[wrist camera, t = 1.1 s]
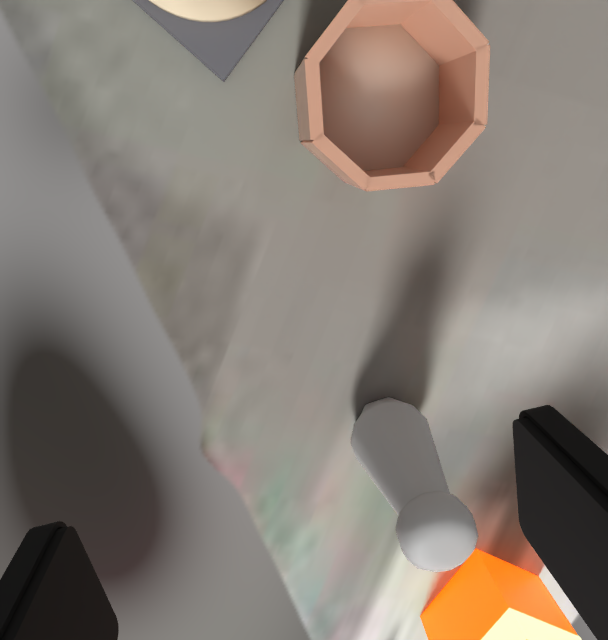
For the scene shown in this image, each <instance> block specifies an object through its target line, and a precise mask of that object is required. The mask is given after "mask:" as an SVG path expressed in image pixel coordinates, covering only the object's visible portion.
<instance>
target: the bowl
mask: <svg viewBox="0 0 608 640" xmlns="http://www.w3.org/2000/svg"><path fill="white" fill-rule="evenodd" d="M488 43H489V41H488V40H487V39H486V38H485V37H484V35H483V34H482V33H481V32H480V31H479V30H478V29H477V27H476V26H475V25H474V24H473V23H472V22H471V21H470V19H469V18H468V17H467V16H466V15H465V14H464V13H463V11H462V10H461V9H460V8H459V7H458V6H457V5H456V3H455V2H454V1H453V0H348V1H347V2H346V3H345V5H344V6H343V7H342V9H341V10H340V11H339V13H338V14H337V15H336V17H335V18H334V19H333V21H332V22H331V23H330V24H329V26H328V27H327V28H326V30H325V31H324V32H323V34H322V35H321V36H320V38H319V39H318V40H317V42H316V43H315V44H314V45H313V47H312V48H311V49H310V51H309V52H308V53H307V55H306V56H305V57H304V59H303V61H302V62H301V64H300V65H299V67H298V68H297V70H296V71H295V74H294V80H295V92H296V104H297V117H298V129H299V141H301V144H302V145H304V146H305V147H306V148H307V149H308V150H309V151H310V152H311V153H312V154H314V155H315V156H316V157H317V158H318V159H319V160H320V161H321V162H322V163H324V164H325V165H326V166H327V167H328V168H329V169H330V170H331V171H332V172H334V173H335V174H336V175H337V176H338V177H339V178H340V179H341V180H342V181H344V182H345V183H348V184H350V185H352V186H355V187H357V188H360V189H362V190H365V191H375V190H385V189H396V188H406V187H416V186H426V185H434V183H438V182H439V180H440V179H441V178H442V177H443V176H444V175H445V174H446V172H447V171H448V170H449V169H450V168H451V167H452V166H453V164H454V163H455V162H456V161H457V160H458V159H459V158H460V156H461V155H462V154H463V153H464V152H465V151H466V149H467V148H468V147H469V146H470V145H471V144H472V143H473V141H474V140H475V139H476V138H477V137H478V136H479V135H480V133H481V132H482V131H483V130H484V129H485V128H486V127H485V126H484V125H487V112H488V87H489V61H490V45H487V44H488Z"/></svg>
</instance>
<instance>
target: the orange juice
mask: <svg viewBox="0 0 608 640" xmlns="http://www.w3.org/2000/svg"><path fill="white" fill-rule="evenodd" d="M420 617H421V620H422V623H423V626H424V628H425V631H426V634H427V637H428V640H581V638H580V637H579V636H578V635H577V633H576V632H575V630H574V629H573V627H572V626H571V624H570V623H569V621H568V620H567V618H566V617H565V615H564V614H563V612H562V611H561V609H560V608H559V606H558V605H557V603H556V602H555V600H554V599H553V597H552V596H551V594H550V593H549V591H548V590H547V588H546V587H545V585H544V584H543V582H542V581H541V579H540V578H539V576H537V575H535V574H533V573H530V572H528V571H526V570H523V569H521V568H519V567H517V566H514V565H512V564H510V563H508V562H505V561H503V560H501V559H499V558H496V557H494V556H492V555H489V554H487V553H485V552H483V551H480V550H478V549H475V550H474V552H473V553H472V554H471V555H470V556H469V558H468V559H467V560H466V561H465V562H464V564H463V565H462V566H461V567H460V569H459V570H458V571H457V572H456V573H455V575H454V576H453V577H452V578H451V579H450V581H449V582H448V583H447V584H446V585H445V587H444V588H443V589H442V590H441V592H440V593H439V594H438V595H437V596H436V598H435V599H434V600H433V601H432V602H431V604H430V605H429V606H428V607H427V608H426V610H425V611H424V612H423V613H422V615H421V616H420Z"/></svg>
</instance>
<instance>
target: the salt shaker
mask: <svg viewBox="0 0 608 640" xmlns="http://www.w3.org/2000/svg"><path fill="white" fill-rule="evenodd" d="M351 446H352V448H353V451H354V454H355V457H356V459H357V460H358V461H359V463H360V464H361V466H362V467H363V468H364V470H365V471H366V472H367V474H368V475H369V476H370V478H371V479H372V480H373V482H374V483H375V484H376V486H377V487H378V488H379V490H380V491H381V493H382V494H383V495H384V497H385V498H386V499H387V501H388V502H389V503H390V505H391V506H392V507H393V509H394V510H395V511H396V513H397V514H398V515H399V516H398V520H397V524H396V533H397V537H398V540H399V543H400V546H401V549H402V552H403V553H404V555H405V556H406V558H407V560H409V561H410V562H411V563H412V564H413V565H414V566H416V567H417V568H418V569H422V570H427V571H432V572H441V571H449V570H452V569H454V568H455V567H457V566H459V565H461V564H463V563H464V562H465V561H466V560H467V558H468V557H469V556H470V555H471V554H472V553H473V551H474V549H475V546H476V542H477V539H478V533H477V529H476V524H475V521H474V518H473V515H472V513H471V512H470V510H469V509H468V508H467V506H466V505H465V504H464V503H462V502H461V501H460V500H459V499H458V498H457V497H456V496H454V495H453V494H450V492H449V489H448V486H447V483H446V479H445V476H444V473H443V470H442V467H441V463H440V460H439V457H438V454H437V451H436V447H435V444H434V441H433V438H432V435H431V431H430V428H429V425H428V422H427V419H426V418H425V417H424V416H423V415H422V414H421V413H420V412H419V411H418V410H417V409H416V408H415V407H414V406H413V405H411V404H408V403H405V402H402V401H398V400H395V399H393V398H390V397H386V398H383V399H380V400H377V401H374V402H371V403H368V404H365V406H364V409H363V411H362V413H361V415H360V416H359V418H358V419H357V421H356V422H355V424H354V427H353V432H352V436H351Z"/></svg>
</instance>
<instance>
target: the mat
mask: <svg viewBox="0 0 608 640" xmlns="http://www.w3.org/2000/svg"><path fill="white" fill-rule="evenodd" d="M133 1H134V2H135V3H136V4H137V5H138V6H139V7H140V8H142V9H143V10H144V11H145V12H146V13H147V14H148V15H149V16H150V17H152V18H153V19H154V20H155V21H156V22H157V23H158V24H159V25H161V26H162V27H163V28H164V29H165V30H166V31H167V32H168V33H169V34H171V35H172V36H173V37H174V38H175V39H176V40H177V41H178V42H180V43H181V44H182V45H183V46H184V47H185V48H186V49H187V50H189V51H190V52H191V53H192V54H193V55H194V56H195V57H196V58H197V59H199V60H200V61H201V62H202V63H203V64H204V65H205V66H206V67H208V68H209V69H210V70H211V71H212V72H213V73H214V74H215V75H217V76H218V77H219V78H220V79H221V80H222V81H223V82H224V81H225V80H226V78H227V77H228V76H229V74H230V73H231V72H232V70H233V69H234V68H235V66H236V65H237V63H238V62H239V61H240V59H241V58H242V57H243V55H244V54H245V53H246V51H247V50H248V48H249V47H250V46H251V44H252V43H253V42H254V40H255V39H256V38H257V36H258V35H259V33H260V32H261V31H262V29H263V28H264V27H265V25H266V24H267V23H268V21H269V20H270V18H271V17H272V16H273V14H274V13H275V12H276V10H277V9H278V8H279V6H280V5H281V3H282V2H283V1H284V0H267V1H266V2H265V3H264V4H262V5H261V6H259V7H258V8H256V9H255V10H253V11H252V12H250V13H247V14H245V15H243V16H241V17H238V18H235V19H232V20H228V21H221V22H198V21H192V20H187V19H184V18H181V17H177V16H175V15H173V14H170V13H168V12H166V11H164V10H162V9H161V8H159V7H157V6H156V5H154V4H152V3H151V2H150V1H149V0H133Z"/></svg>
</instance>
